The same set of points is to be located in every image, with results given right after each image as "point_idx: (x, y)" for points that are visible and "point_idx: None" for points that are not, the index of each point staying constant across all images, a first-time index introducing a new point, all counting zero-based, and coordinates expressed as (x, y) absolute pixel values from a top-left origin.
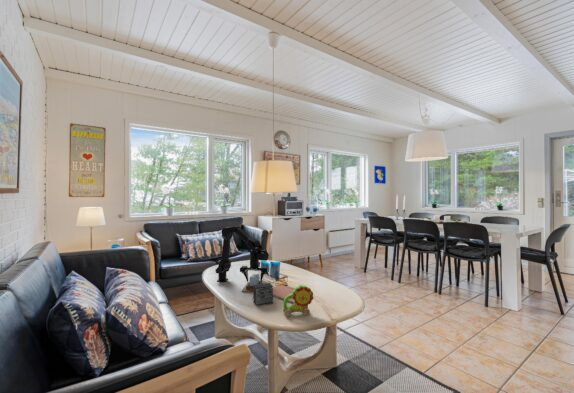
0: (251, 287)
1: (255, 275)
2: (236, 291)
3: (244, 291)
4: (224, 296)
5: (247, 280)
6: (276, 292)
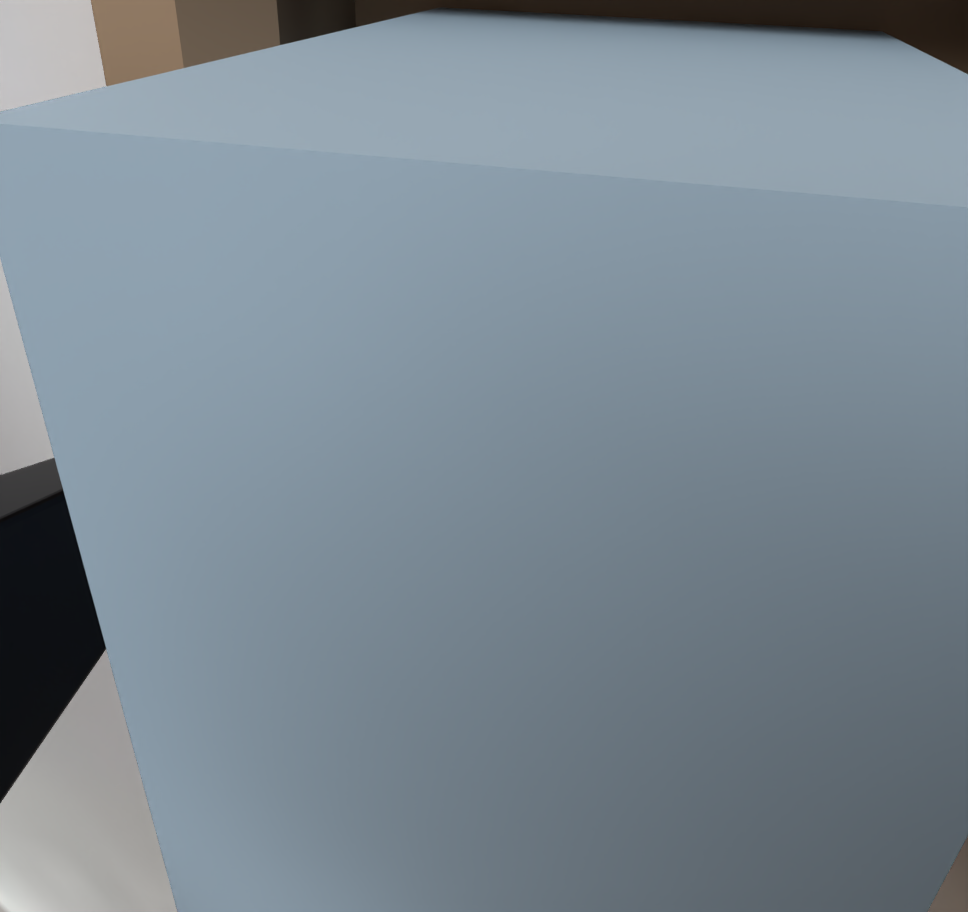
0: None
1: (590, 840)
2: None
3: None
4: (6, 875)
5: None
6: None
